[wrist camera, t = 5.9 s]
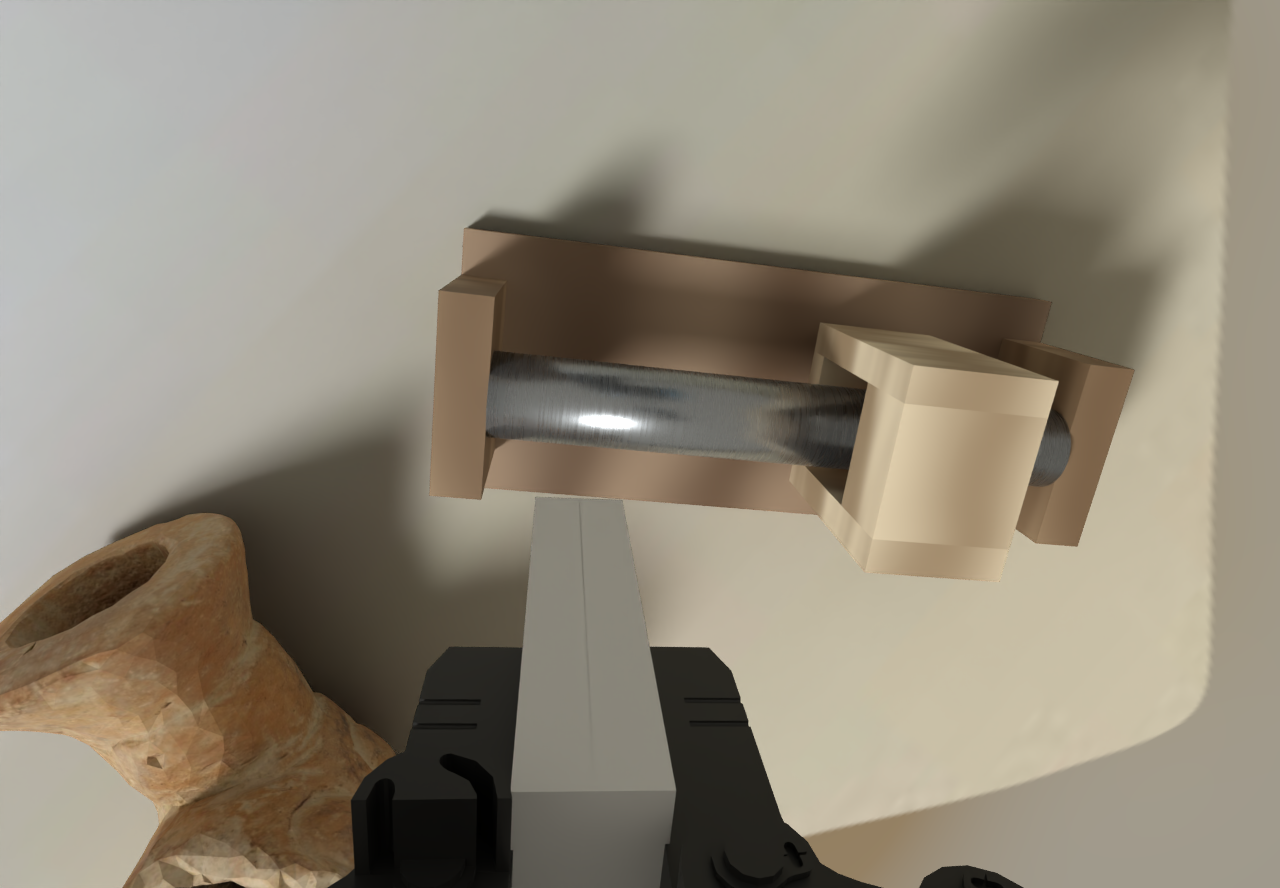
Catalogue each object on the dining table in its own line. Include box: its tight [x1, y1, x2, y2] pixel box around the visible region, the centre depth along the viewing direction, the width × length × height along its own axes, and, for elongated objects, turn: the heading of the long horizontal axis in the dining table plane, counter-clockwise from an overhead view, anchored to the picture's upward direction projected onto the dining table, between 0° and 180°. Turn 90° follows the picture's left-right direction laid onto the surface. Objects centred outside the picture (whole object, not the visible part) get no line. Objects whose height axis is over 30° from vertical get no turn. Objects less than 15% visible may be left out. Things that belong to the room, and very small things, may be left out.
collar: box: [789, 323, 1059, 582], centre depth 23 cm, size 4×6×7 cm
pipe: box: [0, 513, 396, 888], centre depth 25 cm, size 9×16×10 cm, turn 29°
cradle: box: [429, 228, 1135, 546], centre depth 25 cm, size 21×9×6 cm, turn 83°
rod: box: [486, 351, 1071, 487], centre depth 23 cm, size 18×3×3 cm, turn 83°
